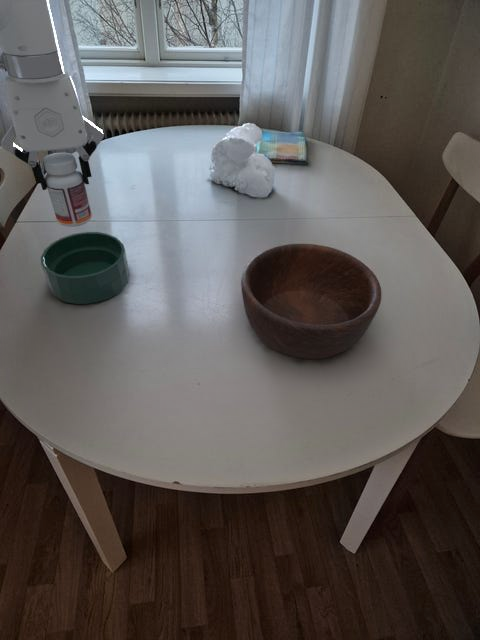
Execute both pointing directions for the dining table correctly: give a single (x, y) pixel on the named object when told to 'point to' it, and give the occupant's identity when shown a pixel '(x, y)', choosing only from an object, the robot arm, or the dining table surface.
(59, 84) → the robot arm
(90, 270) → the green faceted bowl
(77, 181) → the pill bottle
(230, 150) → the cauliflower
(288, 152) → the colourful book
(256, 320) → the wooden bowl
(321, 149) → the dining table surface
